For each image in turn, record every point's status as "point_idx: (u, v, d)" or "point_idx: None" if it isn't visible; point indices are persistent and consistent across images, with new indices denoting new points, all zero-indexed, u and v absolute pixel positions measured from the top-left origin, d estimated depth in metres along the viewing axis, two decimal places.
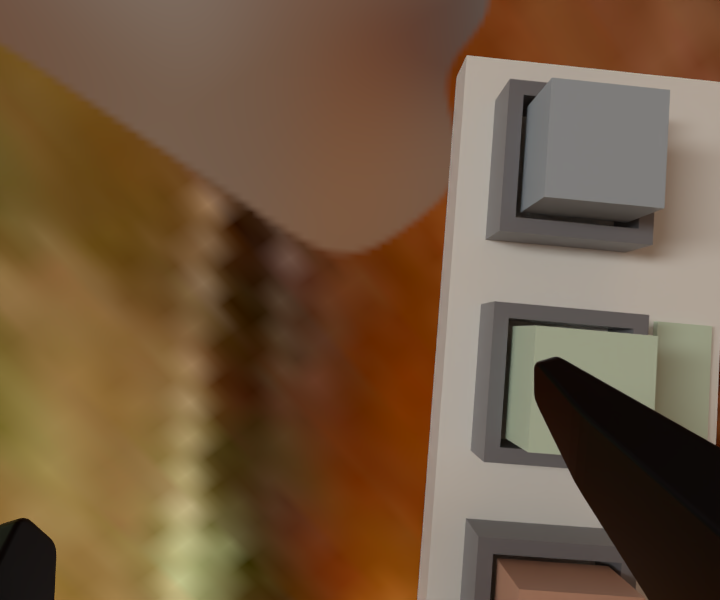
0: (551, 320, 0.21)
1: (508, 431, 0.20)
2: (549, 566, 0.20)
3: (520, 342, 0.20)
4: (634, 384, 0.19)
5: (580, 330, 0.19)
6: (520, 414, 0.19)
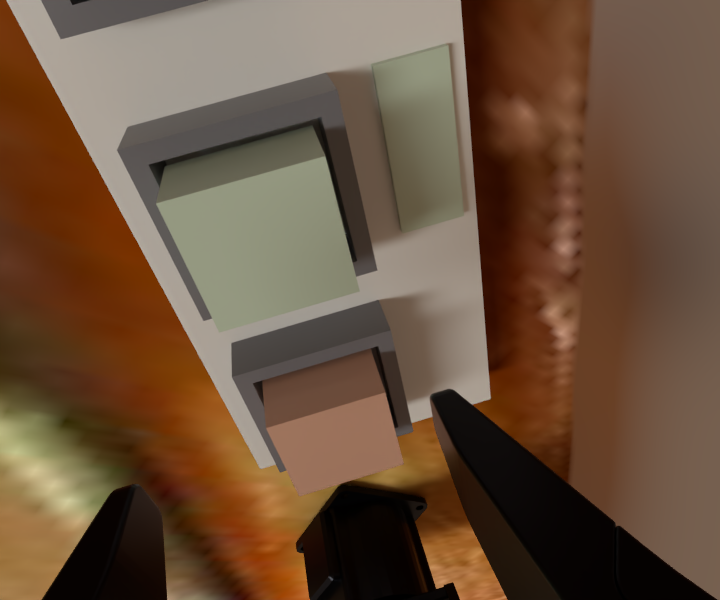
0: (206, 147, 0.15)
1: None
2: (309, 373, 0.20)
3: None
4: (314, 223, 0.15)
5: (218, 187, 0.13)
6: None
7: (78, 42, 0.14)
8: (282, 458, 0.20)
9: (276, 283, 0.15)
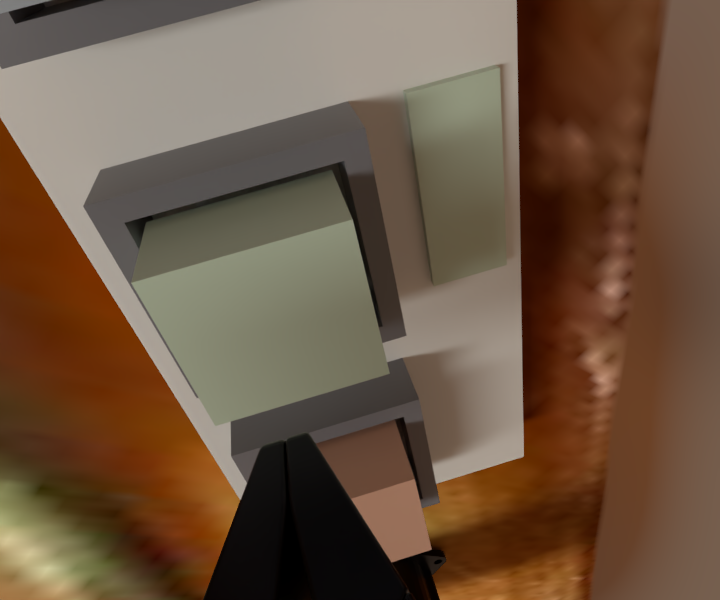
0: (198, 200, 0.12)
1: None
2: (323, 448, 0.17)
3: None
4: (336, 299, 0.11)
5: (213, 261, 0.10)
6: None
7: (33, 67, 0.11)
8: None
9: (287, 369, 0.12)
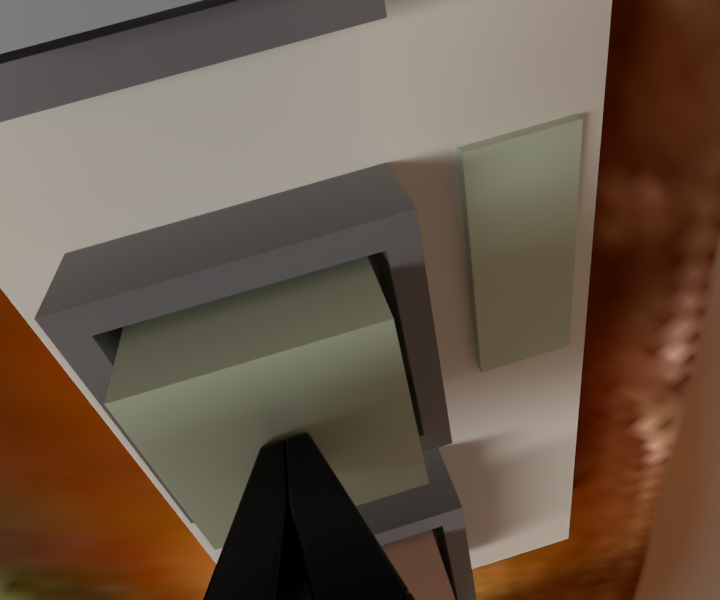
0: (192, 305, 0.09)
1: None
2: None
3: None
4: (367, 408, 0.09)
5: (211, 375, 0.08)
6: None
7: None
8: None
9: None
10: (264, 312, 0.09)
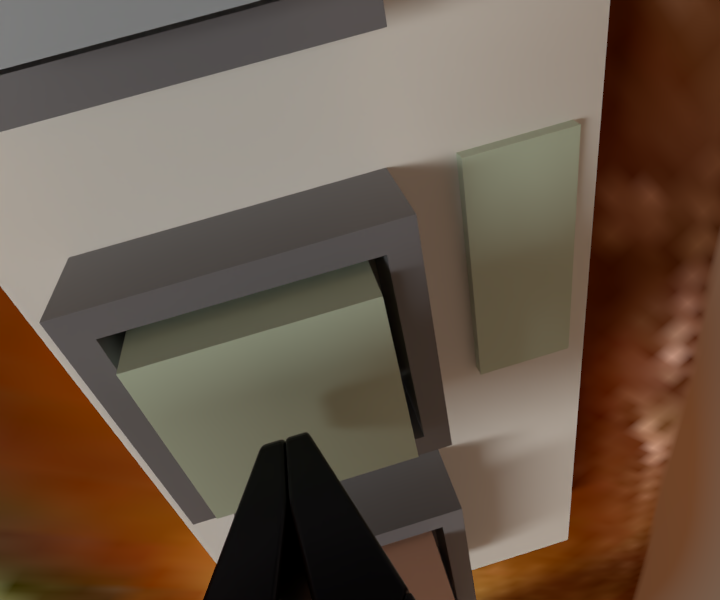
0: (194, 309, 0.09)
1: None
2: None
3: None
4: (359, 382, 0.10)
5: (215, 347, 0.08)
6: None
7: None
8: None
9: None
10: (263, 292, 0.09)
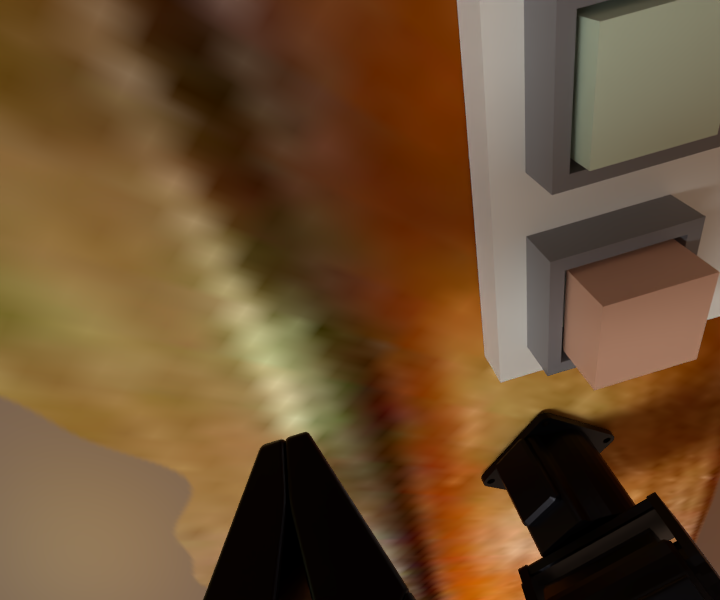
0: None
1: None
2: (618, 261, 0.20)
3: None
4: (711, 55, 0.16)
5: (655, 8, 0.14)
6: (575, 126, 0.17)
7: None
8: (600, 344, 0.20)
9: (656, 119, 0.16)
10: None
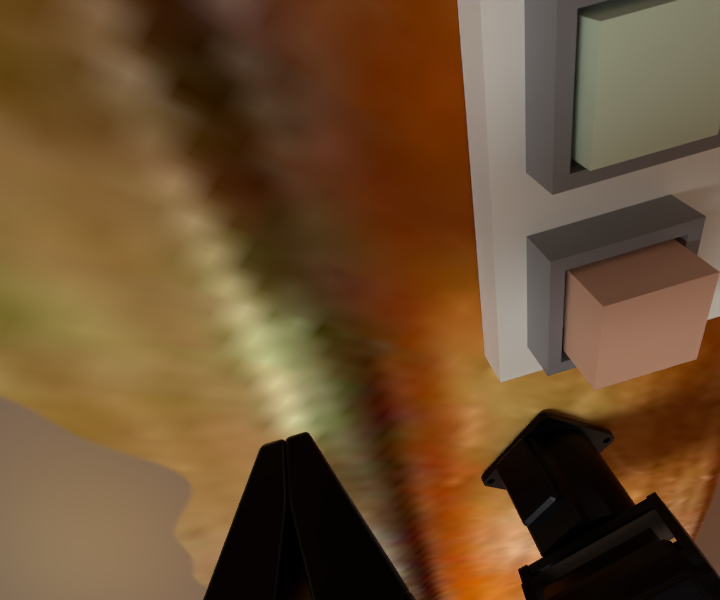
0: None
1: None
2: (619, 261, 0.20)
3: None
4: (712, 55, 0.16)
5: (655, 8, 0.14)
6: (575, 126, 0.17)
7: None
8: (600, 343, 0.20)
9: (656, 119, 0.16)
10: None
